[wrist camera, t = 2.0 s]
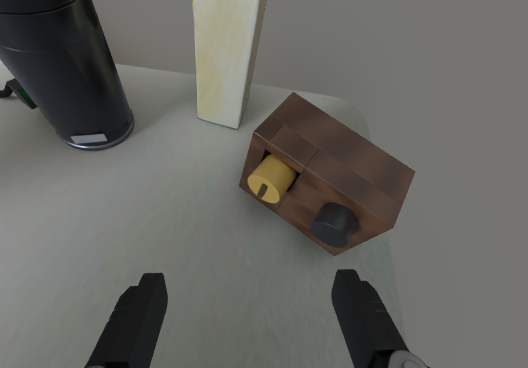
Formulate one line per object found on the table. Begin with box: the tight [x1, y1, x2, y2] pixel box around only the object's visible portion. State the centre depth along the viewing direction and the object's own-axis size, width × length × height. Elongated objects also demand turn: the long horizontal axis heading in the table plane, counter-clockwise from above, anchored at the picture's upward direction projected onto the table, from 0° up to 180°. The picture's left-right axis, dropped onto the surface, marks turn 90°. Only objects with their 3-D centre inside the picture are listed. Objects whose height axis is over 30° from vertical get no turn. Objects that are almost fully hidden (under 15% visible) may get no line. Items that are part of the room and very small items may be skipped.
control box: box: [239, 92, 415, 256], centre depth 31 cm, size 16×11×12 cm
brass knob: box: [248, 154, 296, 203], centre depth 27 cm, size 4×4×4 cm
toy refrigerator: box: [192, 0, 267, 129], centre depth 32 cm, size 8×7×21 cm
